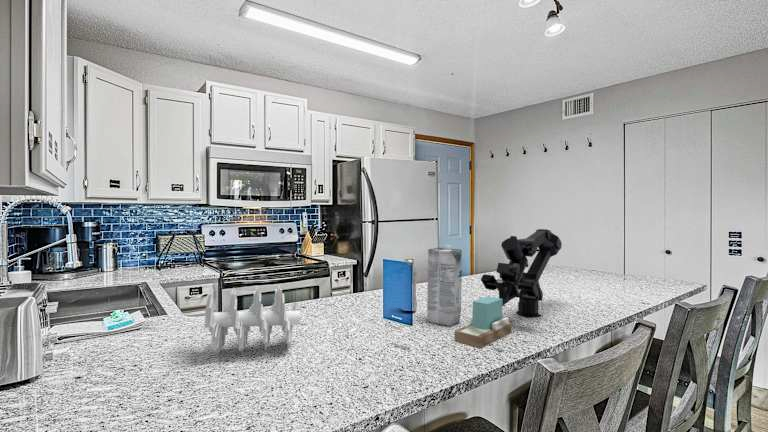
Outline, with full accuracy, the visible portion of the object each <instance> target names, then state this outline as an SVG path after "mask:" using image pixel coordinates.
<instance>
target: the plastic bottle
mask: <svg viewBox="0 0 768 432" xmlns="http://www.w3.org/2000/svg"><path fill="white" fill-rule="evenodd" d="M405 261H407V262H412V263H413V312H416V310H417V309H418V301H417V281H418V276H419V275H418V270H417V268H416V267H415V259H414V258H404V262H405Z"/></svg>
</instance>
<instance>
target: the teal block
mask: <svg viewBox="0 0 768 432" xmlns="http://www.w3.org/2000/svg"><path fill="white" fill-rule="evenodd" d="M502 303H503V299H501V298H499V297H495V296H485V297H482V298H479V299H475V300H472V317H471V318H472V327H475V328H479V329H484V330H489V329H491V328H492V323H494V322H496V321H498V320H501V319H503V306H502Z"/></svg>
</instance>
